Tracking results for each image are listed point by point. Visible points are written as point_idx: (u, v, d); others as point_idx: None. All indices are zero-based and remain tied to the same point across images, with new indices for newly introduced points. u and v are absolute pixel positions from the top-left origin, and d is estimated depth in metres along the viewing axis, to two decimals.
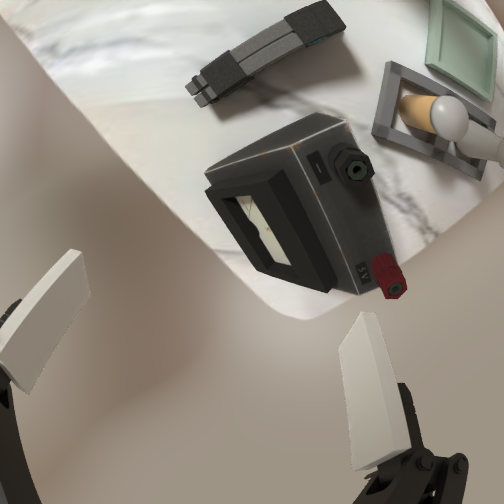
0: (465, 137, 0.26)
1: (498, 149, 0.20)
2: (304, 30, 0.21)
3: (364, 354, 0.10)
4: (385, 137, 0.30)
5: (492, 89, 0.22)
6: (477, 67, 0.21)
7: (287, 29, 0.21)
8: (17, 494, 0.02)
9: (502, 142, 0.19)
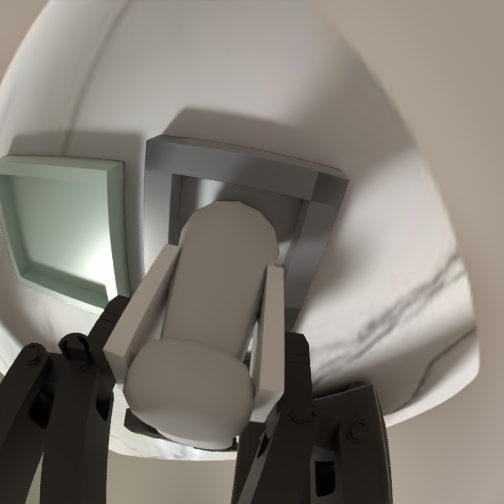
0: None
1: None
2: (161, 436, 0.27)
3: (262, 303, 0.11)
4: None
5: (79, 174, 0.14)
6: (68, 198, 0.17)
7: None
8: None
9: None
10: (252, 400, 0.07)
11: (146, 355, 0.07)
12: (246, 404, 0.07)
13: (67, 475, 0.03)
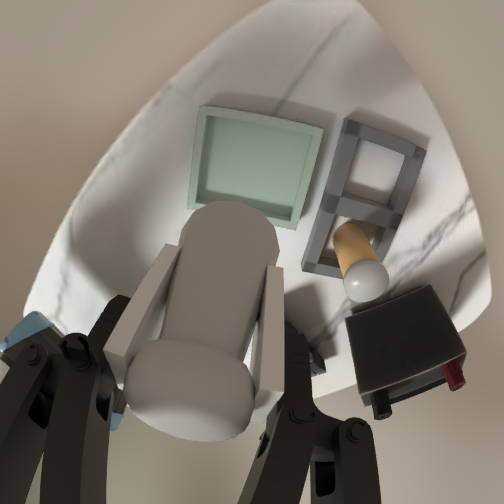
0: None
1: None
2: None
3: (262, 302, 0.11)
4: None
5: (303, 127, 0.27)
6: (275, 143, 0.30)
7: None
8: None
9: None
10: (253, 400, 0.07)
11: (147, 355, 0.07)
12: (246, 404, 0.07)
13: (67, 475, 0.03)
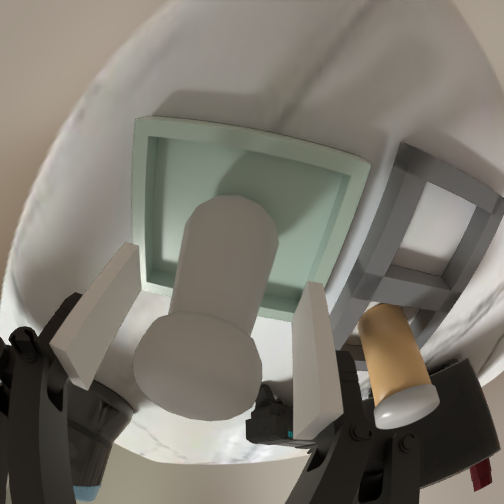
0: None
1: None
2: (282, 441, 0.27)
3: (306, 321, 0.11)
4: None
5: (333, 160, 0.14)
6: (277, 184, 0.17)
7: (281, 443, 0.28)
8: (57, 502, 0.03)
9: None
10: (260, 373, 0.08)
11: (158, 328, 0.08)
12: (255, 374, 0.07)
13: (28, 463, 0.03)
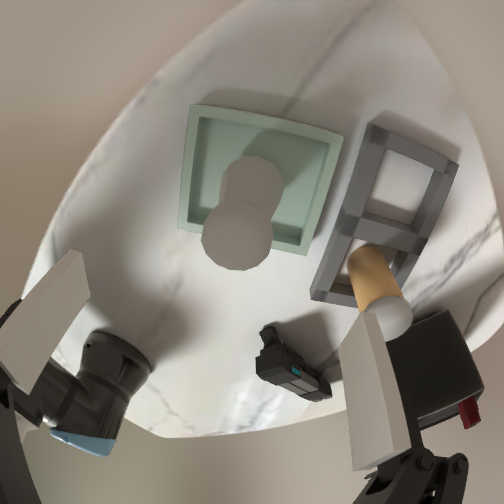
0: None
1: None
2: (287, 379, 0.35)
3: (364, 354, 0.10)
4: None
5: (319, 133, 0.22)
6: (283, 151, 0.24)
7: (286, 383, 0.36)
8: (17, 494, 0.02)
9: None
10: (272, 233, 0.16)
11: (220, 205, 0.16)
12: (269, 229, 0.16)
13: None
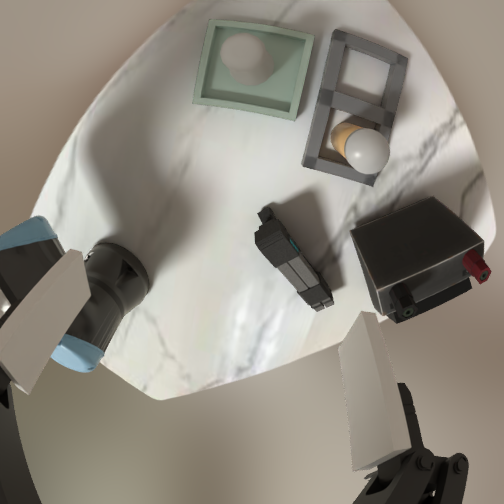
0: (250, 82, 0.28)
1: None
2: (286, 256, 0.39)
3: (364, 354, 0.10)
4: (374, 177, 0.36)
5: (297, 33, 0.26)
6: (273, 48, 0.28)
7: (285, 264, 0.40)
8: (17, 494, 0.02)
9: (231, 69, 0.21)
10: (265, 49, 0.20)
11: None
12: (263, 45, 0.19)
13: None
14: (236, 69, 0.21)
